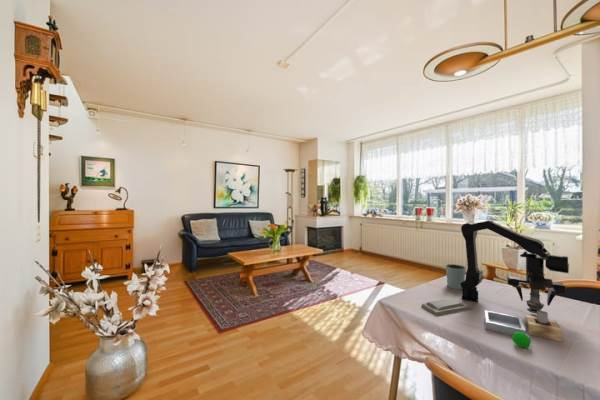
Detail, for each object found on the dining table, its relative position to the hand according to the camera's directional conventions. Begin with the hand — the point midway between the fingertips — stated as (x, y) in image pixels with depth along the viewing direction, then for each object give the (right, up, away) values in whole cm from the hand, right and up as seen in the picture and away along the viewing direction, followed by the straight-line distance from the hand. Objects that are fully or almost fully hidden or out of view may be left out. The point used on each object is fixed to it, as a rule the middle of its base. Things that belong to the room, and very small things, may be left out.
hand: (534, 303), depth 109 cm
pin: (-9, -6, -13) cm, 17 cm away
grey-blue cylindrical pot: (-12, -6, +36) cm, 38 cm away
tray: (-21, -6, -8) cm, 23 cm away
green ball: (-25, -7, -21) cm, 34 cm away
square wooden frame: (-9, -6, -13) cm, 17 cm away
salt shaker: (0, -4, 0) cm, 4 cm away
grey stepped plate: (-34, -7, +9) cm, 36 cm away
